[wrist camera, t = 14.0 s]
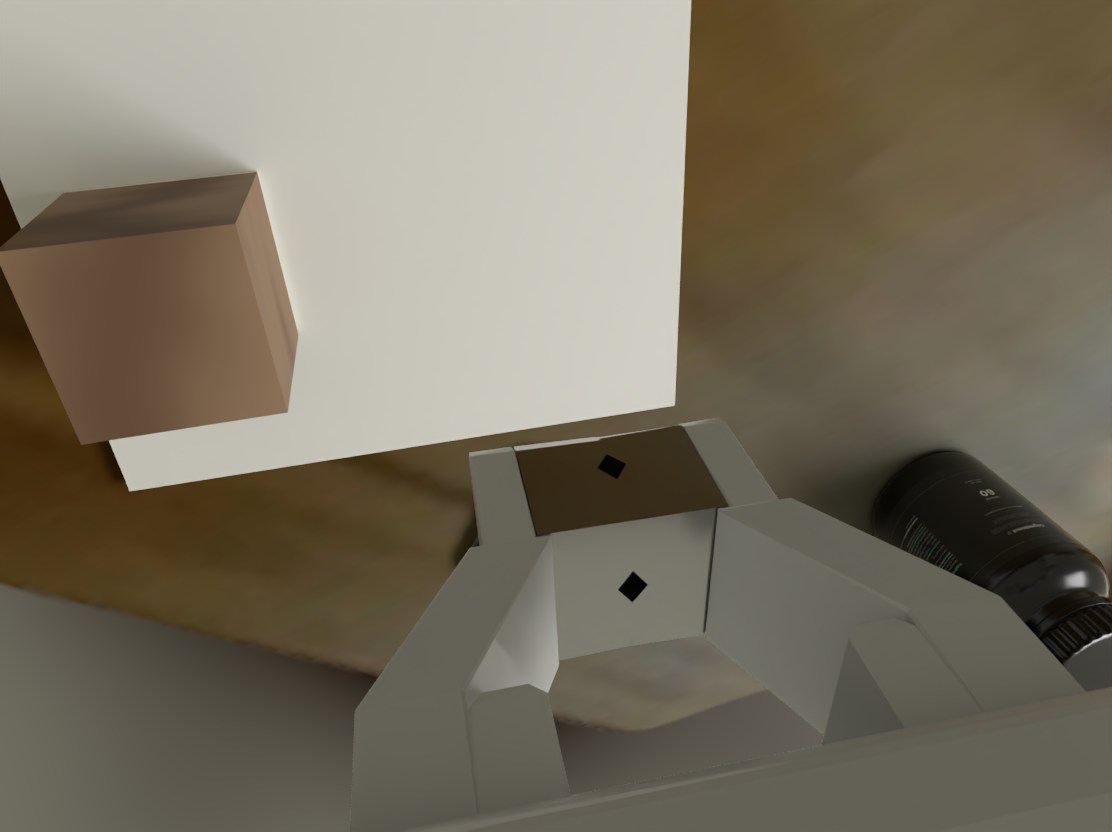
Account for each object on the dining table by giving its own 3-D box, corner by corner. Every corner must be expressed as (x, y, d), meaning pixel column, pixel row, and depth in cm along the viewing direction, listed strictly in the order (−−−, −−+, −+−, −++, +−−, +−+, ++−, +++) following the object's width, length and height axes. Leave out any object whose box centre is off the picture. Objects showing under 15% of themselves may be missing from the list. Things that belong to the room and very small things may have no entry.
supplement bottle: (1002, 447, 42) (1206, 605, 32) (953, 546, 45) (1124, 717, 35) (893, 447, 40) (1073, 614, 30) (851, 551, 44) (1000, 732, 33)
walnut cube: (-6, 252, 20) (67, 189, 25) (81, 444, 23) (130, 353, 29) (235, 223, 21) (258, 169, 26) (287, 412, 24) (299, 330, 29)
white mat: (687, -65, 26) (694, -66, 26) (670, 399, 36) (674, 405, 35) (-74, -23, 22) (-84, -23, 22) (133, 482, 32) (129, 491, 31)
